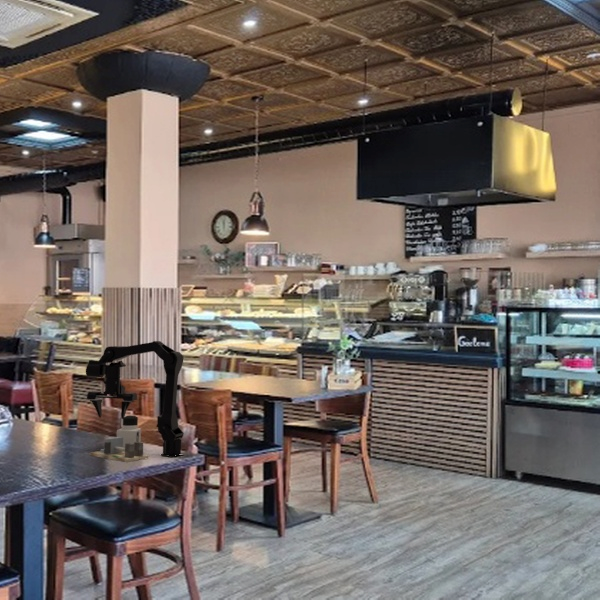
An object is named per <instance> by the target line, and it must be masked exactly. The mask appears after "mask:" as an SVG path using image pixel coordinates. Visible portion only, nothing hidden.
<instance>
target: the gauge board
mask: <svg viewBox="0 0 600 600" xmlns="http://www.w3.org/2000/svg"><path fill="white" fill-rule="evenodd" d="M89 456H91V457H97V458H102V459H107V460H112V461H113V460H114V461H119V462H125V463H129V462H134V461H139V459H141V460H146V459H145V458H147V459H149V455H147V454H144V442H134V444H132V443H126V444H125V452H124V451H123V452H118V453H112V454H104V453H100V450H99V451H92V452H89Z"/></svg>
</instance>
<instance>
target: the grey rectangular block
mask: <svg viewBox="0 0 600 600" xmlns="http://www.w3.org/2000/svg"><path fill="white" fill-rule="evenodd" d="M105 442H111V453H108V454H112V453H118V452H123V451H124V452H125V448H123V437H117V436H115V437H107V438H104V446H105ZM104 446H103V447H104ZM99 451H100V453H104V448H101V449H100V450H99ZM104 454H106V453H104Z"/></svg>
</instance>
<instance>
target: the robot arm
mask: <svg viewBox="0 0 600 600" xmlns="http://www.w3.org/2000/svg"><path fill="white" fill-rule="evenodd" d="M152 352H154V353H155V354H156V355H157V357H158V358H159V359H160V360H162V363H163V369H164V372H165V384H164V385H165V386H164V397H163V398H164V399H163V408H162V409H163V411H162V414H160V415H158V416H157V420H156V421H157V422H156V423H157V424H156V428H157V432H158V433H159V434H160V436H161V440H162V441H163V442H162V453H160V454H161V455H160V456H163V455H169V456H175V455H179V454H182V439H183V437H184V431H182V429H181V428H180V426H179V419H178V416H177V413H176V410H177V409H176V407H177V395H178V383H179V382H178V381H179V375H180V372H181V369H182V368H183V363H184V356H183V354H182V352H180V351H175V350H174V349H173V348H171V347H170V346H168V345H166V344H165V343H163V342H162V341H160V340H154V341H151V342H145V343H140V344H139V343H138V344H133V345H128V346H126V345H125V346H124V345H123V346H122V345H114V346H112V345H111V346H107V347H105V348H104V349H103V354H102V355H101V357H100V358H99V360H96V359H90V360H88V364H87V365H86V368H85V375H86V376H87V378H97V379H98V378H100V379H102V378H104V380H103V384H104V391H101V390H99V391H98V390H97V391H96V390H92V391H88V392H87V393H86V400H89V402H91V403H92V404H93V407H94V409H95V410H96V413H97V415H98V418H100V419H101V418H102V403H103V399H120V400H123V401H121V411H120V412H121V413H120V414H121V417H122V419H123V418H124V416H126V412H127V411H128V408H129V406H130V404H132V403H134V402H135V401H136V400H138V394H137V393H136V392H126V386H124V385H122V380H121V368H125V367H126V364H125V363H124V362H123V361H122V360H123V359H126V358H128V357H130V356H135V355H140V354H146V353H152ZM115 361H116V362H115ZM102 392H103V393H102ZM169 456H168V457H169ZM175 457H176V456H175Z"/></svg>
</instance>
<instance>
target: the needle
mask: <svg viewBox="0 0 600 600" xmlns="http://www.w3.org/2000/svg"><path fill="white" fill-rule="evenodd" d="M104 443H105V446H103V447H104V448H103V449H104V453H106V454H108V453H111V442H105V441H104Z"/></svg>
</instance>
